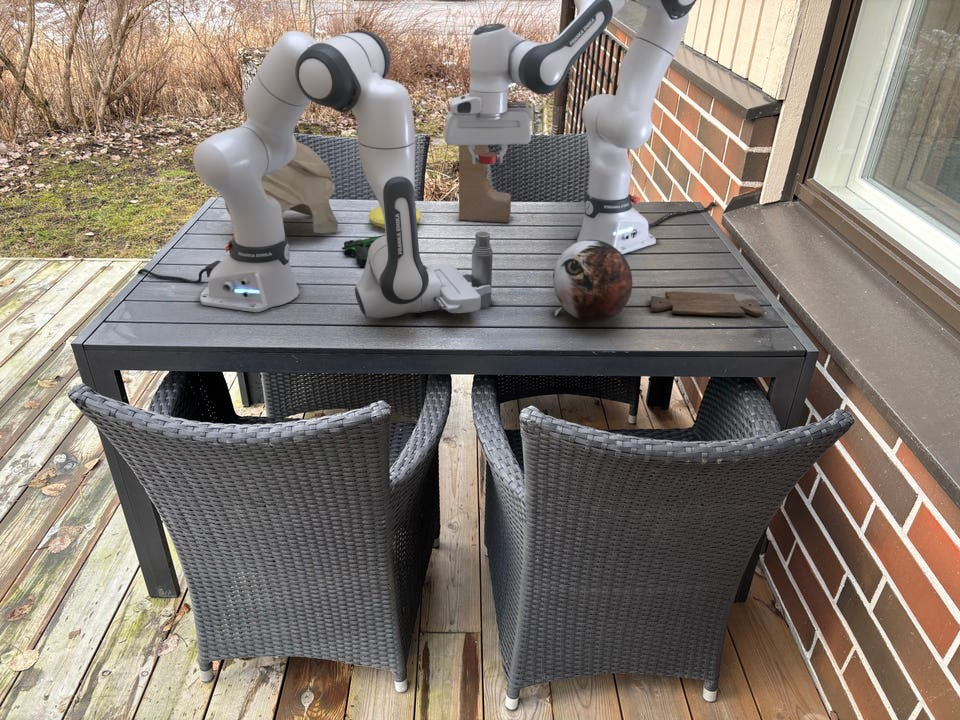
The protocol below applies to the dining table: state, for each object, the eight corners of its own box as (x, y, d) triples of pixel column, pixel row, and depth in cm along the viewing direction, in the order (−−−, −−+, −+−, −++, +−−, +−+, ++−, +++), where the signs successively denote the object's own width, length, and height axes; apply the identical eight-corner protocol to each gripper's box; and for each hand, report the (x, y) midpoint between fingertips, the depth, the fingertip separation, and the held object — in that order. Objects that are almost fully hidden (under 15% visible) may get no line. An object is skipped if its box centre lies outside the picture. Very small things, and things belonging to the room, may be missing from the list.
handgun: (354, 259, 182) (336, 238, 193) (354, 270, 184) (336, 248, 195) (413, 250, 189) (392, 230, 200) (413, 260, 190) (392, 240, 201)
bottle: (492, 300, 169) (495, 231, 160) (488, 309, 165) (490, 238, 157) (473, 298, 170) (475, 229, 161) (468, 306, 166) (470, 236, 157)
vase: (376, 214, 219) (375, 191, 216) (426, 217, 218) (426, 194, 214) (362, 232, 206) (360, 208, 202) (415, 235, 204) (415, 212, 201)
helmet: (351, 239, 203) (345, 131, 188) (249, 258, 188) (233, 142, 173) (313, 212, 222) (305, 112, 207) (217, 227, 207) (201, 120, 192)
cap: (477, 159, 172) (477, 151, 171) (495, 159, 172) (495, 151, 171) (478, 164, 168) (478, 156, 167) (497, 164, 169) (497, 156, 168)
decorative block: (508, 223, 214) (511, 120, 199) (458, 220, 216) (458, 118, 200) (510, 215, 220) (514, 114, 205) (462, 212, 222) (462, 112, 207)
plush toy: (529, 271, 171) (588, 211, 162) (582, 317, 175) (643, 261, 167) (526, 311, 151) (593, 245, 143) (586, 361, 156) (655, 300, 148)
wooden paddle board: (645, 296, 172) (651, 316, 164) (646, 290, 171) (652, 309, 163) (754, 299, 171) (766, 319, 163) (755, 293, 170) (767, 312, 162)
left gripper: (442, 297, 151) (502, 288, 155) (414, 261, 167) (469, 254, 172) (442, 323, 154) (502, 314, 159) (415, 286, 171) (469, 278, 175)
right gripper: (530, 99, 167) (527, 158, 174) (443, 100, 165) (444, 160, 172) (535, 104, 162) (532, 165, 169) (445, 105, 160) (446, 167, 167)
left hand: (484, 282), depth 165 cm, fingers closed on bottle, 5 cm apart
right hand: (487, 163), depth 170 cm, fingers closed on cap, 4 cm apart
